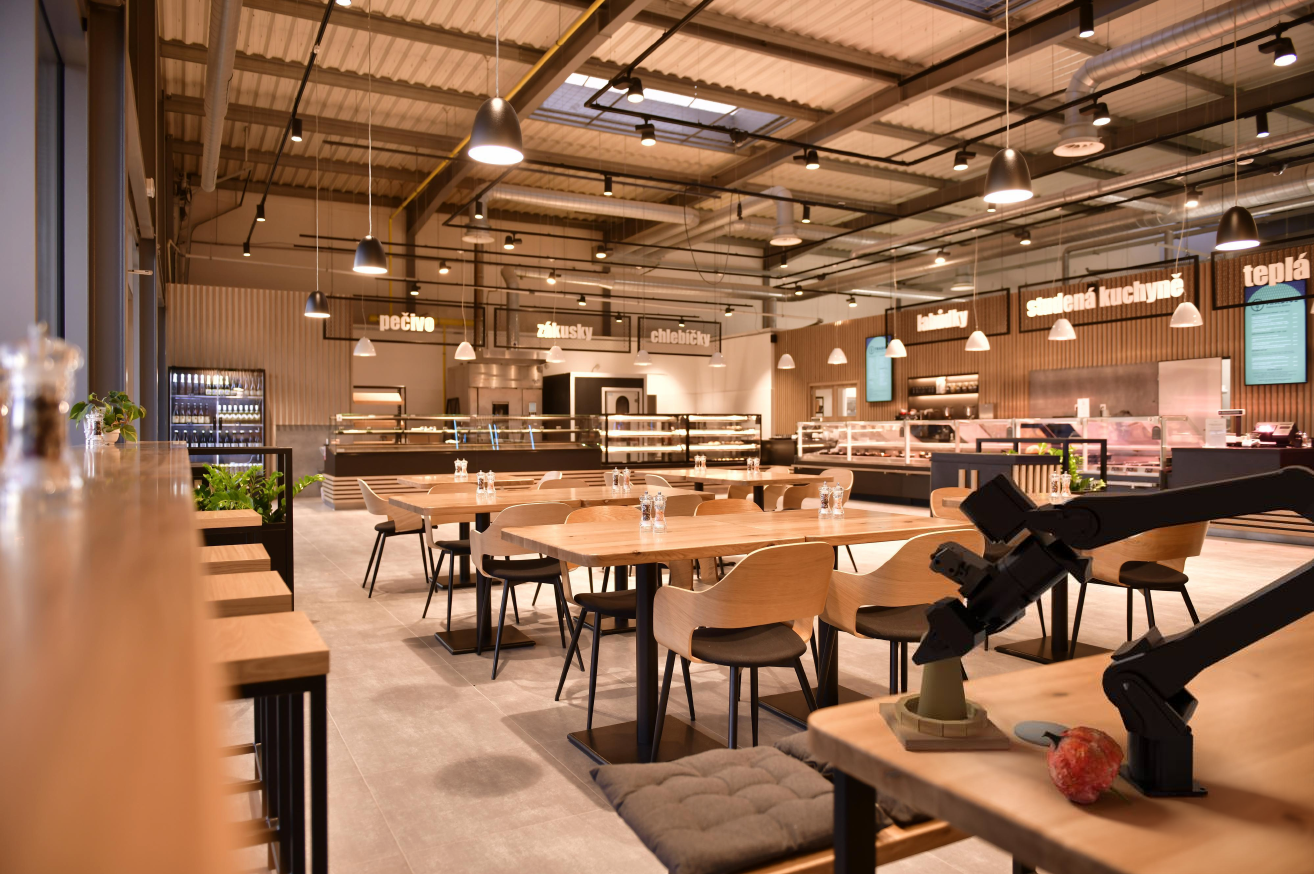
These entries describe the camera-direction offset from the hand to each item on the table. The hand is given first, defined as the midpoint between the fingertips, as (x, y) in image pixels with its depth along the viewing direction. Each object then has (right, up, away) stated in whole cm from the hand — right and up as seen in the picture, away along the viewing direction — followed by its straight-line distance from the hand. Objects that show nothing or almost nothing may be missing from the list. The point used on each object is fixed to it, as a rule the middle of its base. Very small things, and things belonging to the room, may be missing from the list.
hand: (929, 652), depth 104 cm
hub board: (+1, -9, 0) cm, 9 cm away
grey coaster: (+13, -9, -3) cm, 16 cm away
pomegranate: (+10, -10, -19) cm, 23 cm away
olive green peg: (+1, -8, -1) cm, 8 cm away
